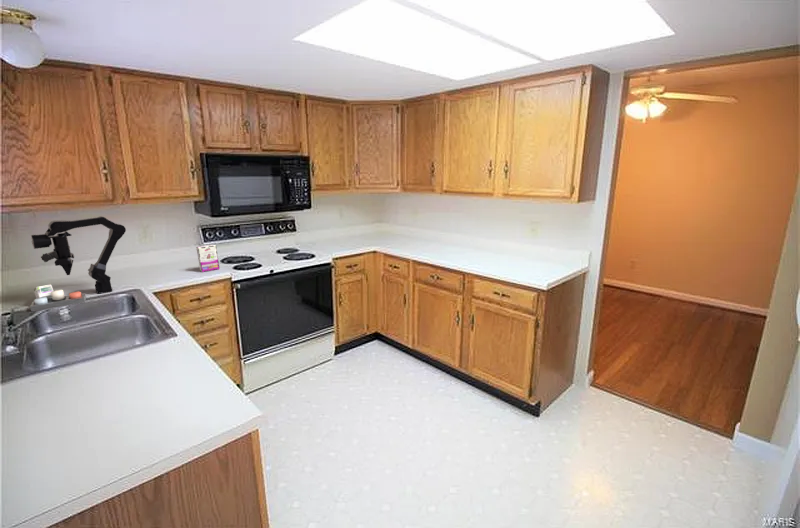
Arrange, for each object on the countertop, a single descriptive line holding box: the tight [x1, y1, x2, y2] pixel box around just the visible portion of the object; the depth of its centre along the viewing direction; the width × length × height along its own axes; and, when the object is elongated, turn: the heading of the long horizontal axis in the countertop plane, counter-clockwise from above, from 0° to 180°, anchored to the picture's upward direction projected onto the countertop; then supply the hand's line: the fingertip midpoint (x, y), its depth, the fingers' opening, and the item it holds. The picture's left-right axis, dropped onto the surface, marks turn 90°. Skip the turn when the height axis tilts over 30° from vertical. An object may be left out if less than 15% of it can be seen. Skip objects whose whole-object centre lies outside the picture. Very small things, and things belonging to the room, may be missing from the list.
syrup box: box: [34, 284, 54, 299], centre depth 191 cm, size 6×6×14 cm
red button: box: [68, 291, 82, 299], centre depth 192 cm, size 5×5×4 cm
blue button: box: [33, 297, 48, 304], centre depth 184 cm, size 5×5×4 cm
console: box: [29, 292, 87, 312], centre depth 188 cm, size 20×10×2 cm, turn 127°
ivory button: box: [51, 289, 66, 300], centre depth 188 cm, size 5×5×4 cm
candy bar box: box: [195, 244, 220, 273], centre depth 247 cm, size 11×5×16 cm, turn 131°
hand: (68, 275), depth 195 cm, fingers closed
